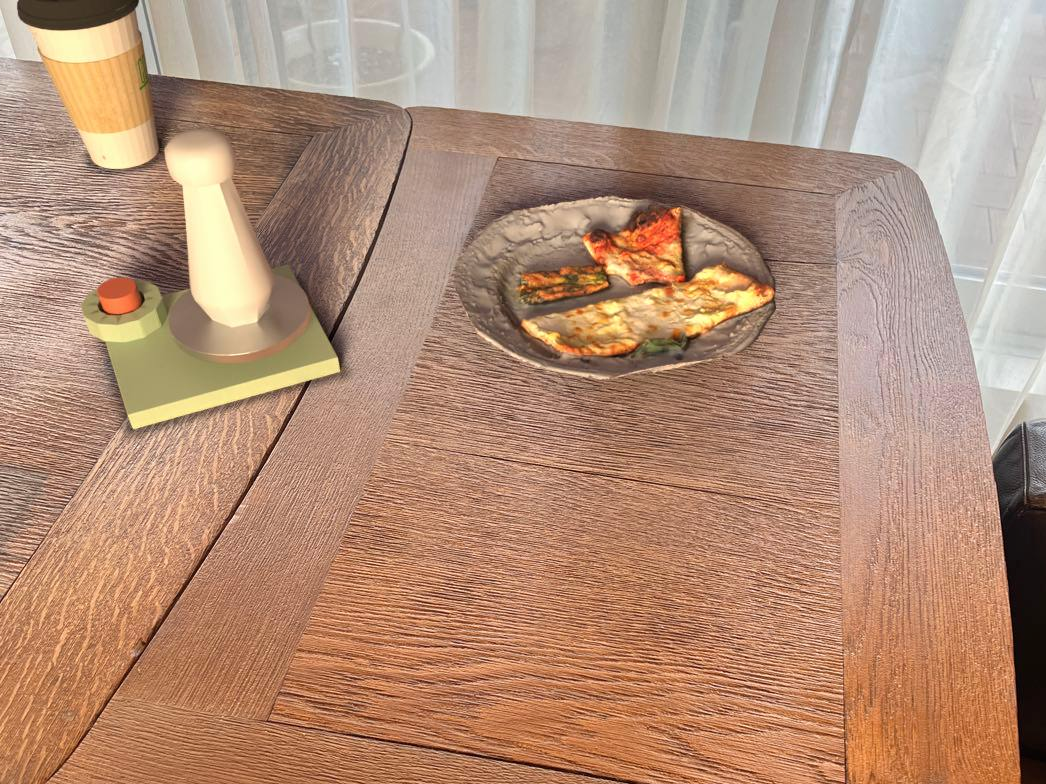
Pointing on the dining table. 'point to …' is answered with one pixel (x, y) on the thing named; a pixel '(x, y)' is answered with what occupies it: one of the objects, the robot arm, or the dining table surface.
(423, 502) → the dining table surface
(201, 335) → the scale pan
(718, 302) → the food plate
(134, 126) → the coffee cup
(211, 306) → the salt shaker
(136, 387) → the scale
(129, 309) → the button
